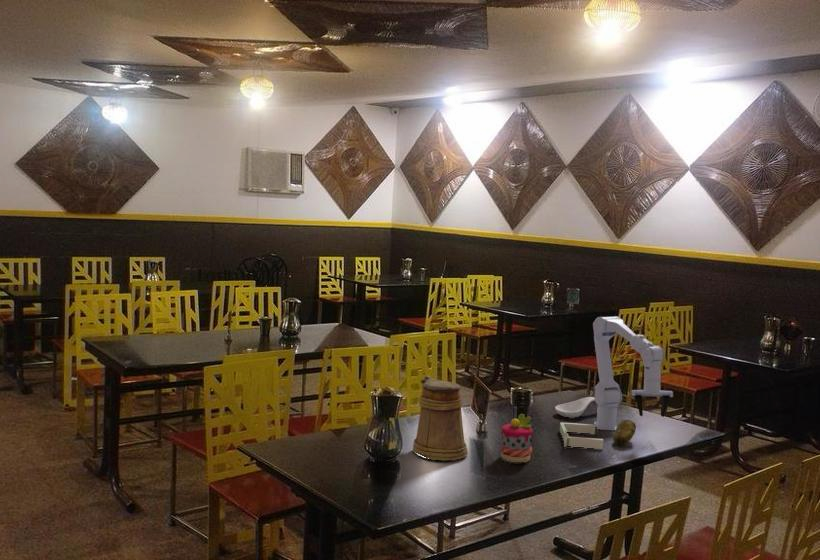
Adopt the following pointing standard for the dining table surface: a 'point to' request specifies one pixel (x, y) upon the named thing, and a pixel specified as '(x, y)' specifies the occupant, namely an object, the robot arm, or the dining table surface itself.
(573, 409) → the spoon rest
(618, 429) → the potato
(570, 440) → the corral
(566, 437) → the flag
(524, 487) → the dining table surface
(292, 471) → the dining table surface
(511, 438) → the cake
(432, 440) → the tankard
